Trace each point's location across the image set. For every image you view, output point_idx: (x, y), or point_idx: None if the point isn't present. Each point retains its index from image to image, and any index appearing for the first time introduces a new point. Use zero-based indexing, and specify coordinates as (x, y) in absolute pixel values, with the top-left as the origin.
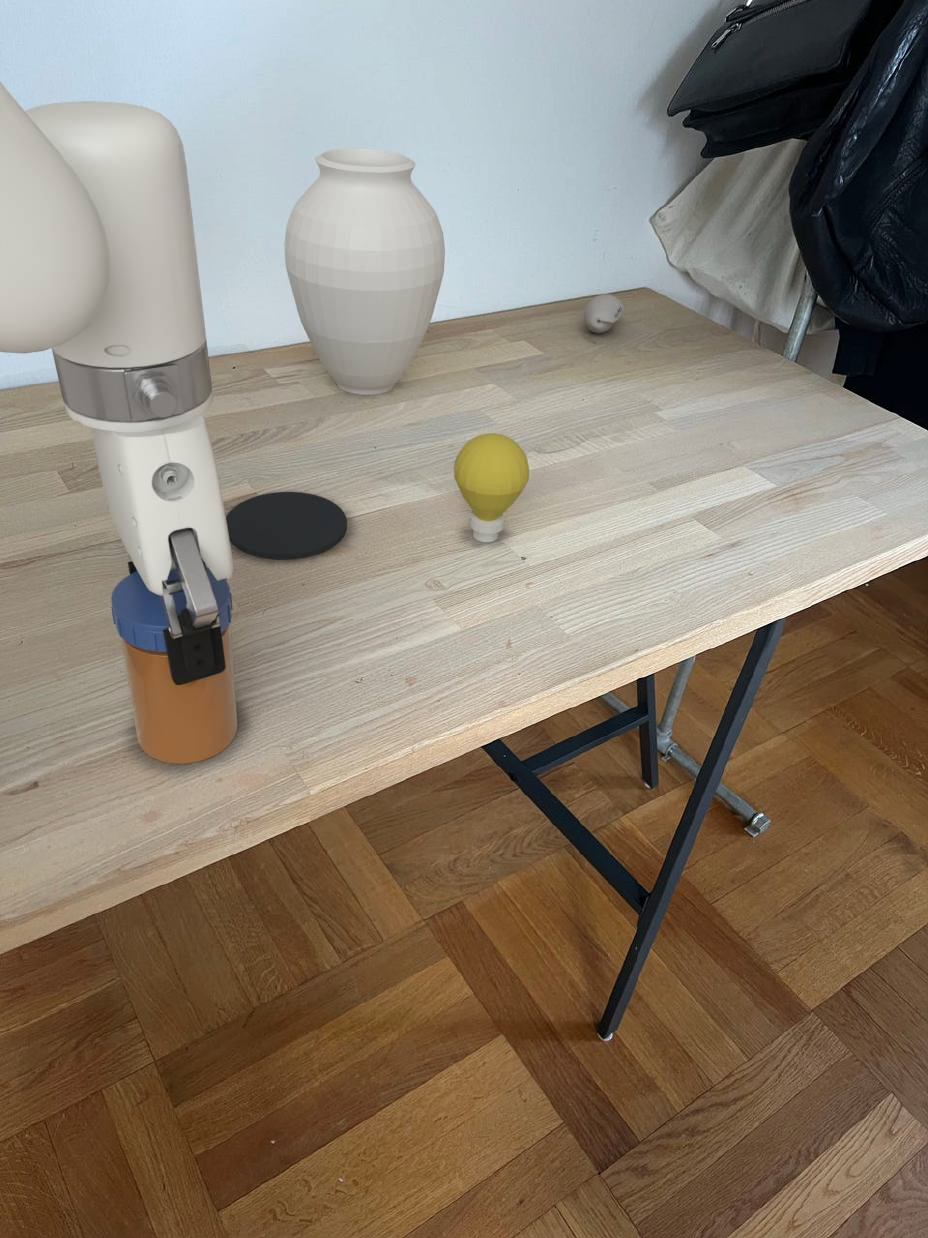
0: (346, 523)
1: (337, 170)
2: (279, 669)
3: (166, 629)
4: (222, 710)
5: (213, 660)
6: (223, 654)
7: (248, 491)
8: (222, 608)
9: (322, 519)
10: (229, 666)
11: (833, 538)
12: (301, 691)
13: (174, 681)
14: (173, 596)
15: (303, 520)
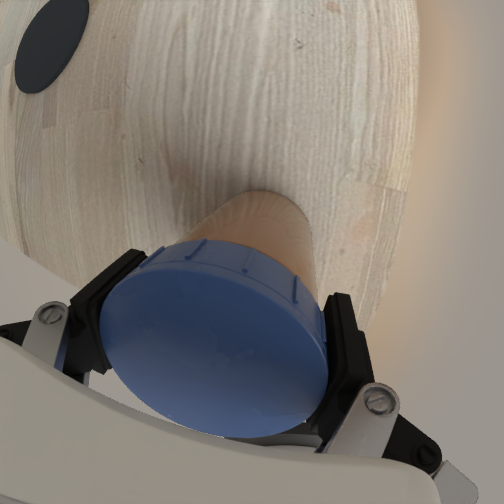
0: None
1: None
2: (224, 108)
3: (312, 428)
4: (311, 245)
5: (365, 342)
6: (354, 314)
7: (10, 66)
8: (316, 337)
9: (58, 9)
10: (298, 243)
11: None
12: (275, 106)
13: None
14: (216, 384)
15: (50, 24)
